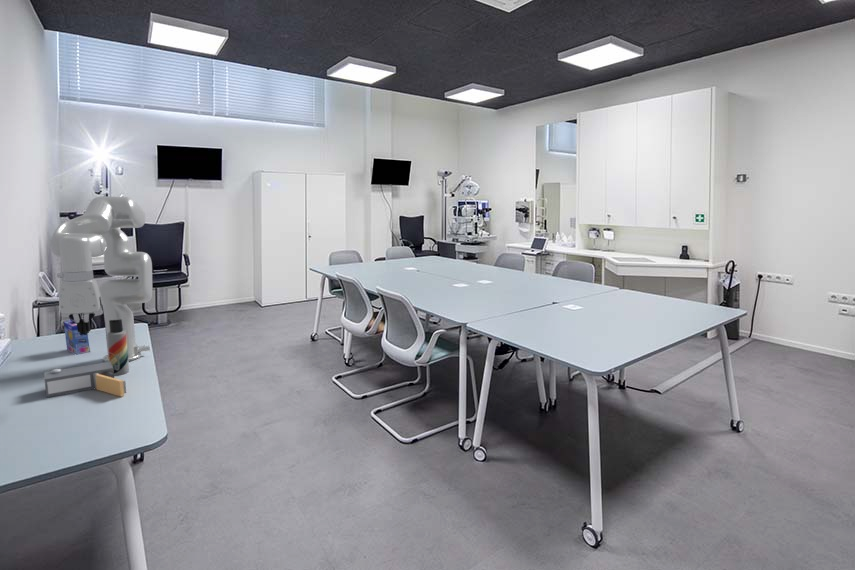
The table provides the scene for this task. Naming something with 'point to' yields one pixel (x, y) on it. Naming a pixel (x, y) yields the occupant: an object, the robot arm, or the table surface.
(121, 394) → the tall beige panel
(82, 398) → the table surface
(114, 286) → the robot arm
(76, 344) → the ink cartridge box
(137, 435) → the table surface
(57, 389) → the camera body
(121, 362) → the lotion bottle
